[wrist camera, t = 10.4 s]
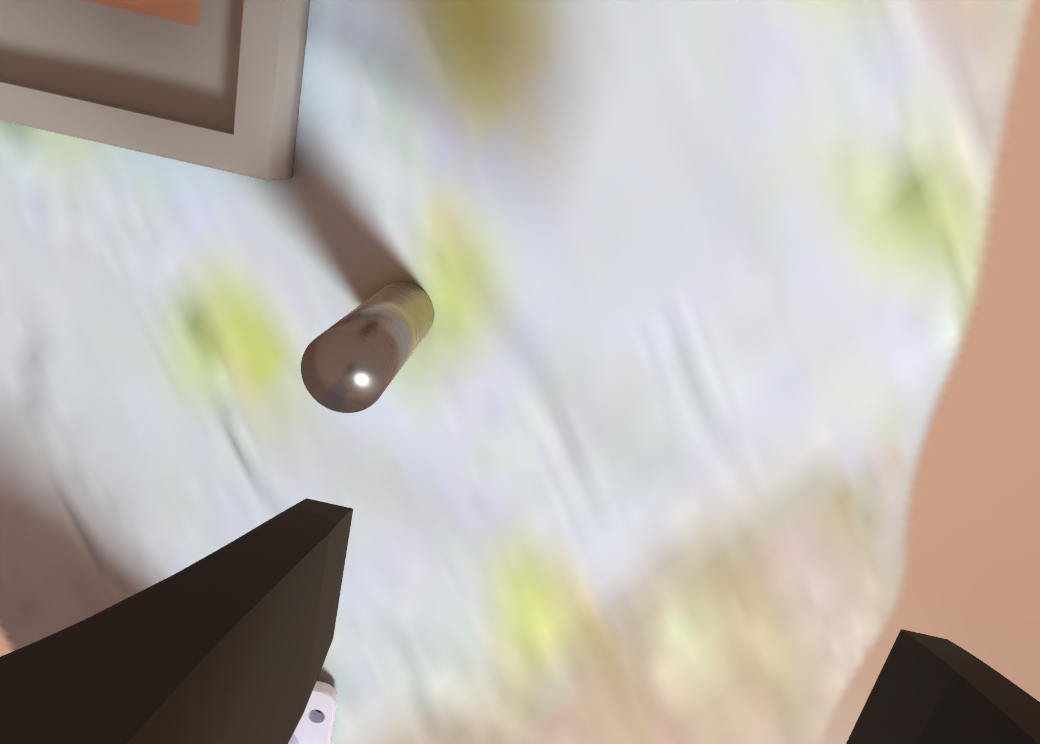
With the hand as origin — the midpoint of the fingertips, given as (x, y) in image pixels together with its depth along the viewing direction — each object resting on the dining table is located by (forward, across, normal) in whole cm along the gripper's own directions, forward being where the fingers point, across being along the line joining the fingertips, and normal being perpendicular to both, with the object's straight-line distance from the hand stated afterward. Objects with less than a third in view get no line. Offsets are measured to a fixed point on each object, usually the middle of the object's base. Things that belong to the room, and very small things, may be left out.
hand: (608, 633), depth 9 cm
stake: (+9, +5, -1) cm, 11 cm away
